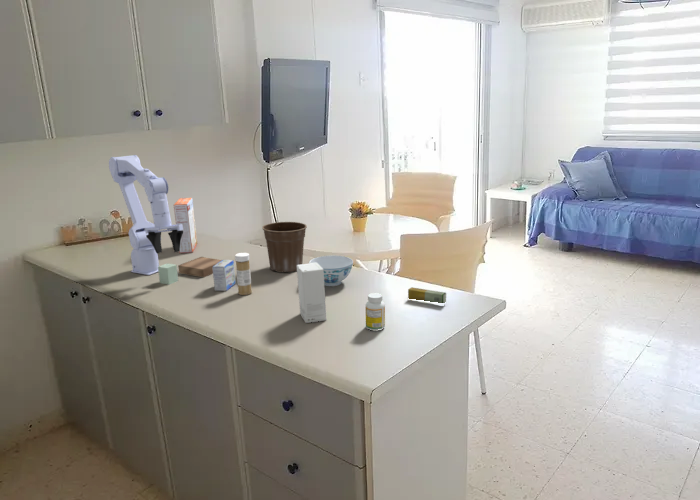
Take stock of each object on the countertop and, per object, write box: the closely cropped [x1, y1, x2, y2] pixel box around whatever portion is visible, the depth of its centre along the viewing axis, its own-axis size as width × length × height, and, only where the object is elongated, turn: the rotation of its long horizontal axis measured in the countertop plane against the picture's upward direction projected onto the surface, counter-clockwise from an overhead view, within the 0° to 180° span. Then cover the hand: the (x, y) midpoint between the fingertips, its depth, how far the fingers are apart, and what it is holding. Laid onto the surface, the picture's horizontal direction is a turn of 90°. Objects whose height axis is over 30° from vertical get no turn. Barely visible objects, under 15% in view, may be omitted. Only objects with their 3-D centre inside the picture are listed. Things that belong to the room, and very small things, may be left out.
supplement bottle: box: [365, 292, 386, 330], centre depth 157 cm, size 5×5×10 cm
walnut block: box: [177, 256, 223, 278], centre depth 211 cm, size 12×12×3 cm
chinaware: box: [308, 254, 354, 287], centre depth 194 cm, size 15×15×8 cm
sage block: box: [158, 263, 179, 285], centre depth 199 cm, size 4×4×6 cm
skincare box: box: [296, 262, 327, 324], centre depth 164 cm, size 8×7×16 cm
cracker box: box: [173, 197, 198, 254], centre depth 239 cm, size 14×6×21 cm, turn 6°
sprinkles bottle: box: [234, 252, 253, 296], centre depth 185 cm, size 5×5×14 cm
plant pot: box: [262, 221, 307, 273], centre depth 211 cm, size 16×16×16 cm
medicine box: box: [212, 259, 236, 292], centre depth 192 cm, size 8×4×9 cm, turn 168°
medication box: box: [407, 287, 447, 303], centre depth 175 cm, size 12×3×4 cm, turn 60°
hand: (168, 252), depth 197 cm, fingers open, 7 cm apart
